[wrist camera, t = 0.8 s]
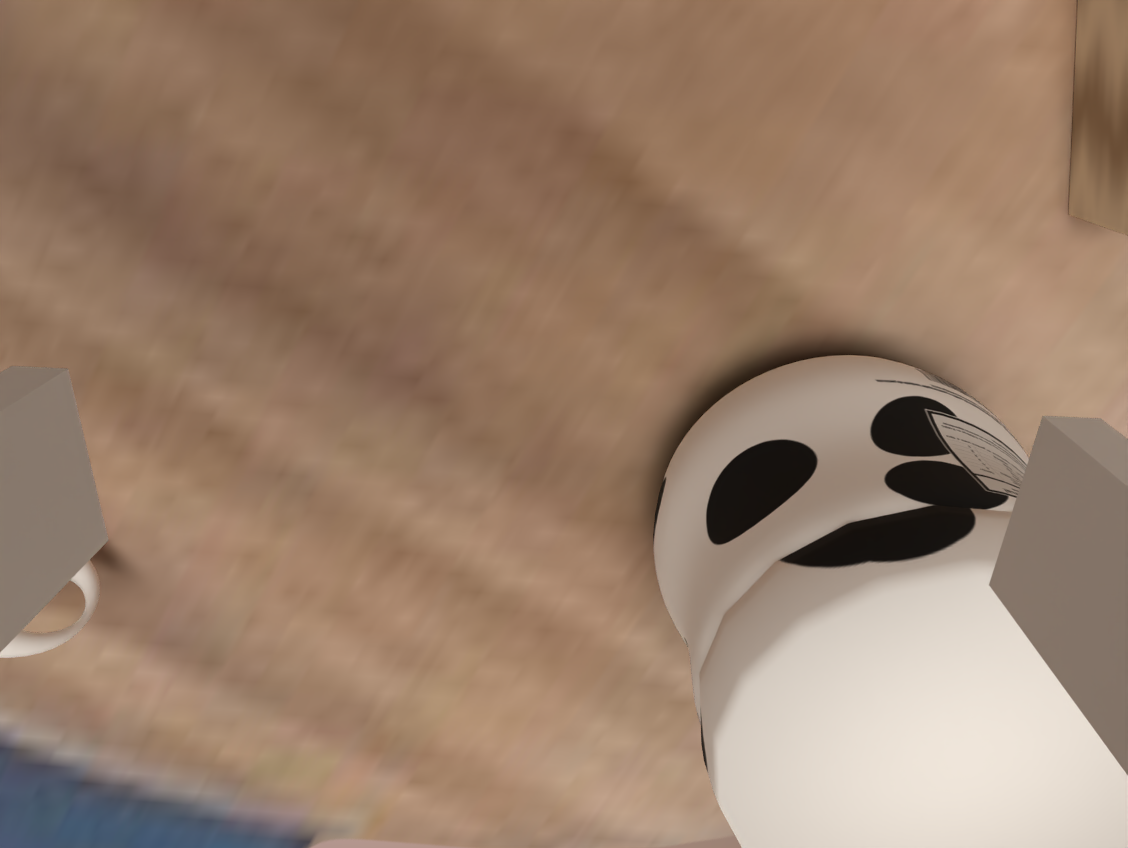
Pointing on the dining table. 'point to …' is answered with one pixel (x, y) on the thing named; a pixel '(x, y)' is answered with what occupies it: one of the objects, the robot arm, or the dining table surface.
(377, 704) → the dining table surface
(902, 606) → the milk container
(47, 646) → the mug
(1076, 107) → the bumper
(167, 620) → the dining table surface
